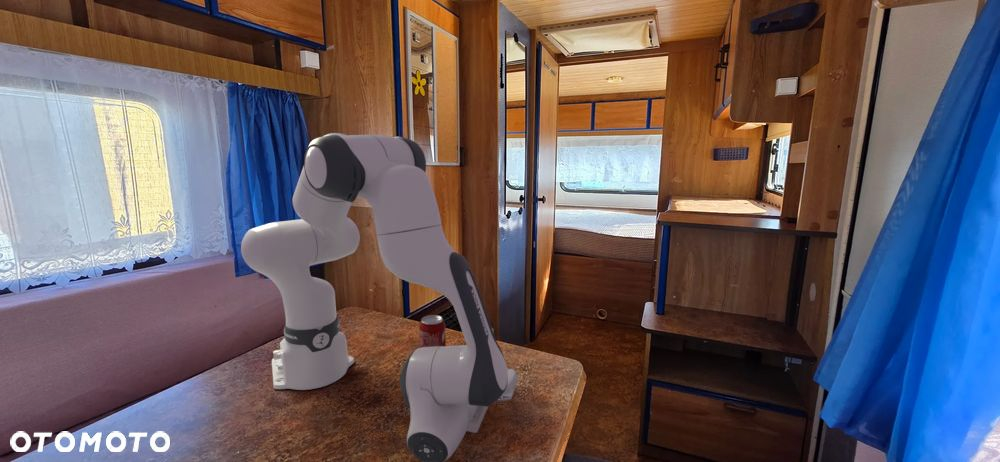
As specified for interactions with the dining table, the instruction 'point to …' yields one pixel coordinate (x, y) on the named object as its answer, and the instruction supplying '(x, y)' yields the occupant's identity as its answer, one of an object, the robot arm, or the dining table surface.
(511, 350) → the dining table surface
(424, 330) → the soda can
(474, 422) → the slider box
